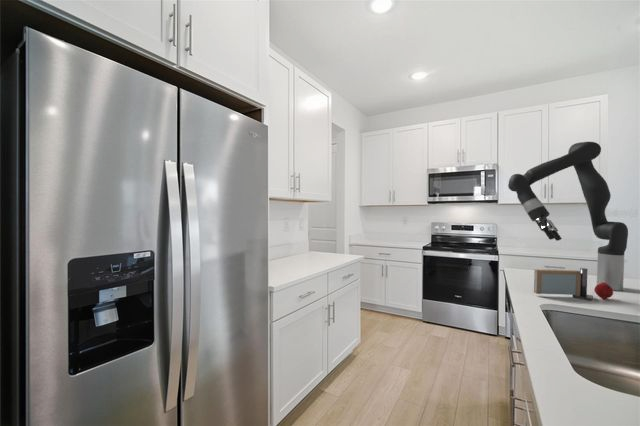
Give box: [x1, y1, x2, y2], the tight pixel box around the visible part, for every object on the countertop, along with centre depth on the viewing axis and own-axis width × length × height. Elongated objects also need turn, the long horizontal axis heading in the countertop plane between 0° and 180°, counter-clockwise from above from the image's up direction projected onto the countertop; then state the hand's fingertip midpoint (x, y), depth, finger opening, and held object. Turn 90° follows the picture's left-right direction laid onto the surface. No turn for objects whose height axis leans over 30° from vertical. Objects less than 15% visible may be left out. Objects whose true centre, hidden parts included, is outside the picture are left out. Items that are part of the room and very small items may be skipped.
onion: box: [593, 281, 614, 300], centre depth 123 cm, size 6×6×8 cm
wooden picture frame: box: [533, 268, 581, 296], centre depth 126 cm, size 18×2×11 cm, turn 85°
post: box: [572, 267, 594, 302], centre depth 125 cm, size 6×6×13 cm
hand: (556, 239), depth 129 cm, fingers open, 8 cm apart
